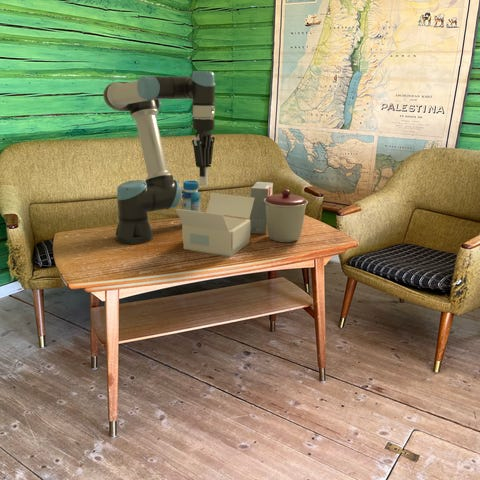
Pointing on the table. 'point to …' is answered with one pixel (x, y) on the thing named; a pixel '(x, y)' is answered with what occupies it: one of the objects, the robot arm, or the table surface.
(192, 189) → the beverage bottle
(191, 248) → the carton
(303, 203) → the canister
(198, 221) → the flap near
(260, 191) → the hard drive box
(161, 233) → the table surface
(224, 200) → the flap far
